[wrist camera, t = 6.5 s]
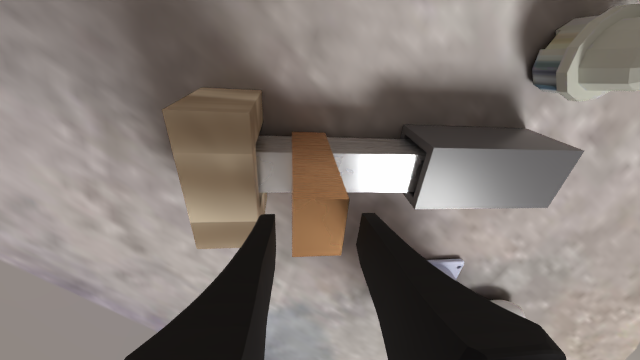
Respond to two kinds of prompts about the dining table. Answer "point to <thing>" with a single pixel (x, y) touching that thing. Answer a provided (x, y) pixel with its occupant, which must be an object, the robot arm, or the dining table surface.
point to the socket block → (218, 162)
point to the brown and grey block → (332, 180)
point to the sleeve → (488, 167)
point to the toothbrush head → (592, 56)
